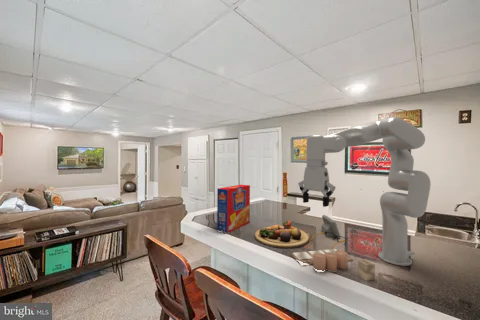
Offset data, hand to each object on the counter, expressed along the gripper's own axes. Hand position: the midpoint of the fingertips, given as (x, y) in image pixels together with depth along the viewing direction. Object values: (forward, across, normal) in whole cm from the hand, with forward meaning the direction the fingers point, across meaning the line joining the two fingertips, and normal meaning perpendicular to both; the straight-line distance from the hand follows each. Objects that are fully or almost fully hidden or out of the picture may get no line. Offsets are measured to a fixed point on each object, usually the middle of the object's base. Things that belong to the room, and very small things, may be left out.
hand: (315, 204), depth 89 cm
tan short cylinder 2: (+28, -4, -6) cm, 29 cm away
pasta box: (+28, +66, -3) cm, 72 cm away
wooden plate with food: (+28, +34, -15) cm, 47 cm away
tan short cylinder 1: (+28, -1, -1) cm, 28 cm away
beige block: (+28, -16, -11) cm, 34 cm away
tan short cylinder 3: (+28, -5, -11) cm, 30 cm away
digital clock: (+28, +20, -45) cm, 57 cm away
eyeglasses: (+28, +13, -31) cm, 44 cm away
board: (+28, +5, -12) cm, 30 cm away
